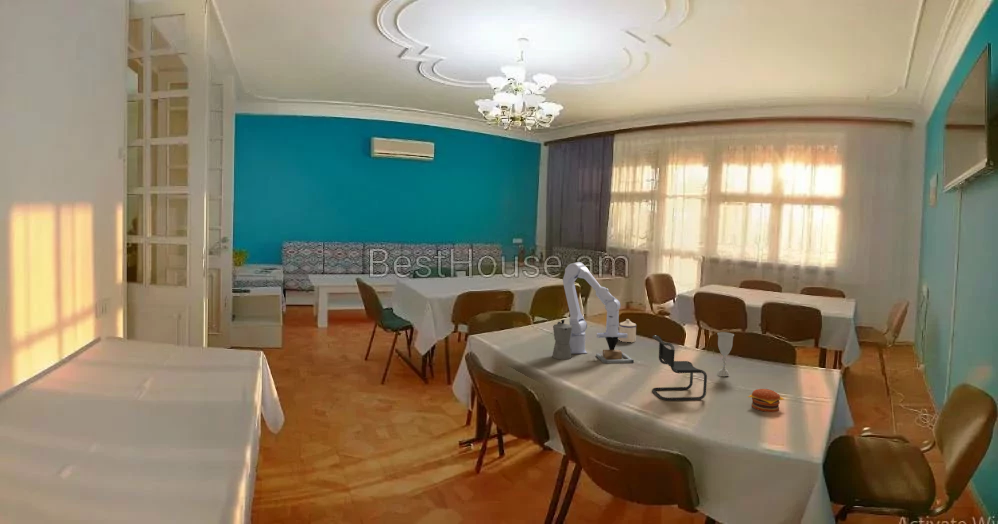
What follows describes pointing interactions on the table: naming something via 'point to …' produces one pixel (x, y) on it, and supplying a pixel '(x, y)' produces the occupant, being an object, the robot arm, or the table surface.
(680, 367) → the chair
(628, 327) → the teacup with lid
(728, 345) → the chalice
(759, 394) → the hamburger
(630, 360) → the grey u-shaped bracket
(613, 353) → the walnut block
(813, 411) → the table surface
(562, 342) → the coffeepot
